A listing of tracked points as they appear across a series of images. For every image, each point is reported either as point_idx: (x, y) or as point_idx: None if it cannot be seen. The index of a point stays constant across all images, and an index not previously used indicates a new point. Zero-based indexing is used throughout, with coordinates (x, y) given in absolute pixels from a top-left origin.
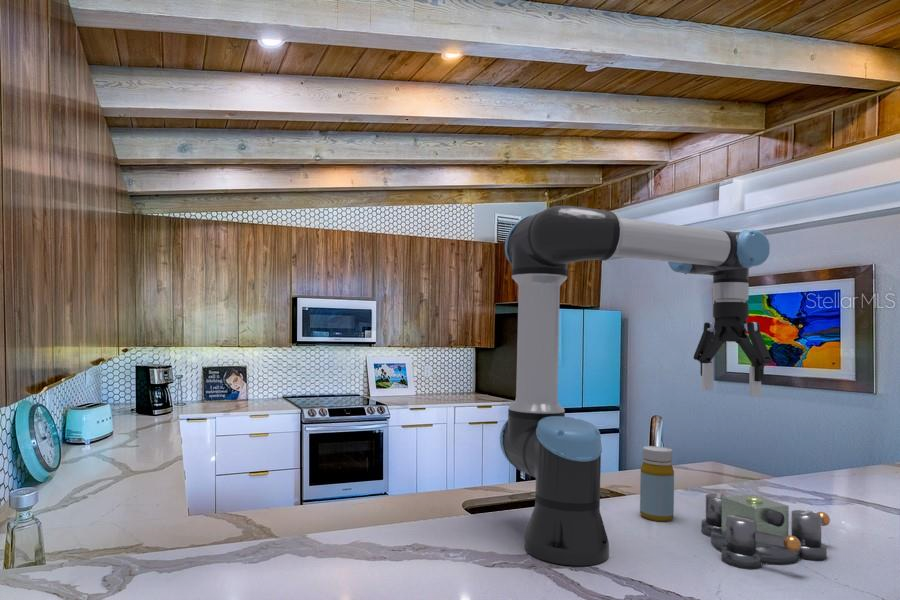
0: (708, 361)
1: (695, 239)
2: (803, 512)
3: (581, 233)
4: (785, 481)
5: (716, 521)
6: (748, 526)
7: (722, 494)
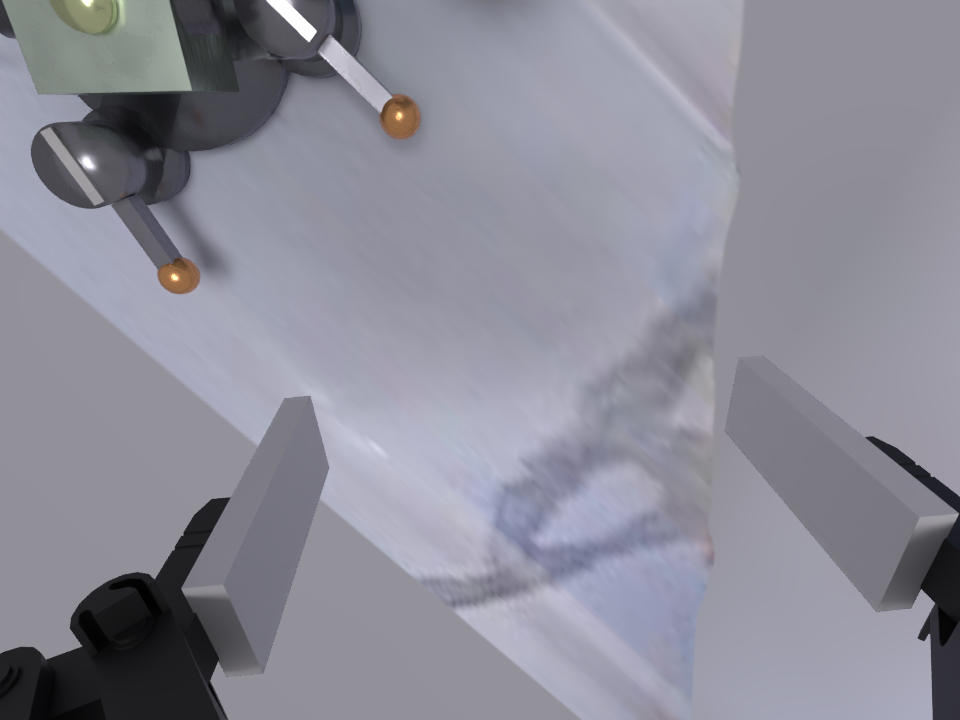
0: (941, 605)
1: None
2: (70, 157)
3: None
4: (672, 572)
5: None
6: None
7: (387, 121)
